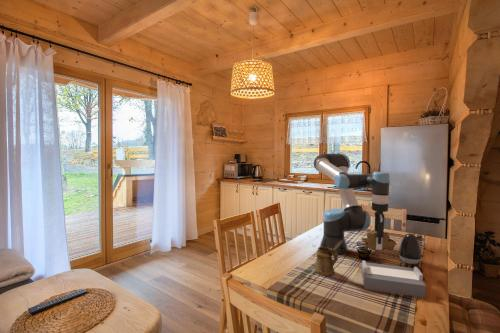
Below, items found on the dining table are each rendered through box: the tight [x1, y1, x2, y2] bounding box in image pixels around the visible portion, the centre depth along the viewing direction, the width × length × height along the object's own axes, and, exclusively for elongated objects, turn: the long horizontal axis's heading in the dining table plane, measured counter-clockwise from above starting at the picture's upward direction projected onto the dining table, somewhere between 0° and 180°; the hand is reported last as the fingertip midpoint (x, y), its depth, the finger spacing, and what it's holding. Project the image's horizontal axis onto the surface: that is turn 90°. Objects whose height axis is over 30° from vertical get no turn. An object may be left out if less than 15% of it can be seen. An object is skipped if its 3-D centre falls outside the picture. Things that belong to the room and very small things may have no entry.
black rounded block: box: [398, 232, 423, 265], centre depth 136 cm, size 10×10×15 cm
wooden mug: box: [313, 240, 343, 277], centre depth 124 cm, size 9×14×18 cm, turn 45°
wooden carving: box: [361, 230, 398, 252], centre depth 133 cm, size 16×5×10 cm, turn 84°
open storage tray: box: [360, 260, 427, 299], centre depth 114 cm, size 22×16×7 cm
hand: (378, 247), depth 134 cm, fingers closed on wooden carving, 4 cm apart
